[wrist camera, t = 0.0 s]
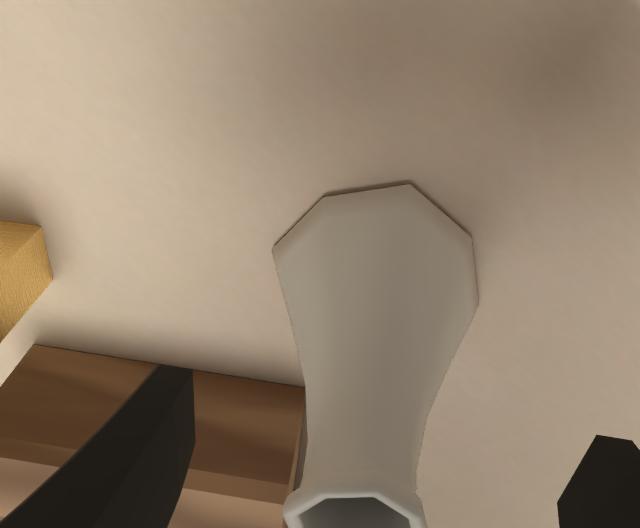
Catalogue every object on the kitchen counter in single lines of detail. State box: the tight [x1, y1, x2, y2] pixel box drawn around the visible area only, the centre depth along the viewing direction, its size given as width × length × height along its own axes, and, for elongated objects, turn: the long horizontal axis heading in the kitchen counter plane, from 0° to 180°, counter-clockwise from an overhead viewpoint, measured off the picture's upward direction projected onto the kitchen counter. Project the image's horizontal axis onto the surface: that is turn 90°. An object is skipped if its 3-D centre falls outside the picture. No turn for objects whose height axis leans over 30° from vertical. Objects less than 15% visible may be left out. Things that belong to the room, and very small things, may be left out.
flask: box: [272, 184, 479, 528], centre depth 17 cm, size 7×7×10 cm
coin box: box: [0, 345, 306, 528], centre depth 26 cm, size 12×12×6 cm
